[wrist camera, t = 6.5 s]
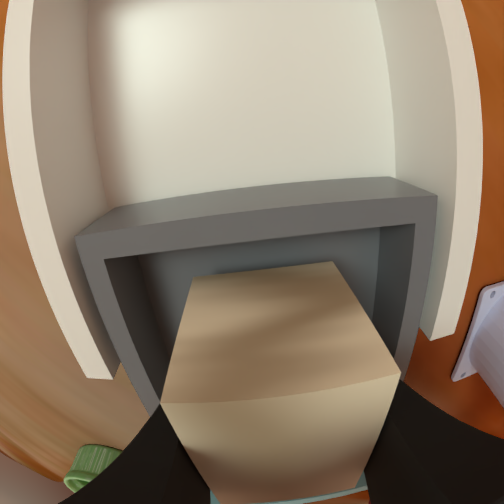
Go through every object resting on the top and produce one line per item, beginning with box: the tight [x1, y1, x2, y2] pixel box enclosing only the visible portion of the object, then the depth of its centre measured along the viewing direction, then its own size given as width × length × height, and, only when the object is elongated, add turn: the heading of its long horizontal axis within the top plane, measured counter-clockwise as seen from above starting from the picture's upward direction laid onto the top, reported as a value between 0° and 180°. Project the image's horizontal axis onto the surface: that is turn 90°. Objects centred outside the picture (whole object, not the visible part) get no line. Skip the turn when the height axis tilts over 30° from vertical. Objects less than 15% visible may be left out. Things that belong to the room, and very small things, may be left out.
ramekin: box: [64, 444, 122, 493], centre depth 18 cm, size 9×9×4 cm
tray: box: [74, 176, 438, 504], centre depth 11 cm, size 14×13×6 cm
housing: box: [3, 0, 483, 379], centre depth 8 cm, size 18×16×5 cm
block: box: [160, 261, 401, 504], centre depth 8 cm, size 4×6×5 cm
